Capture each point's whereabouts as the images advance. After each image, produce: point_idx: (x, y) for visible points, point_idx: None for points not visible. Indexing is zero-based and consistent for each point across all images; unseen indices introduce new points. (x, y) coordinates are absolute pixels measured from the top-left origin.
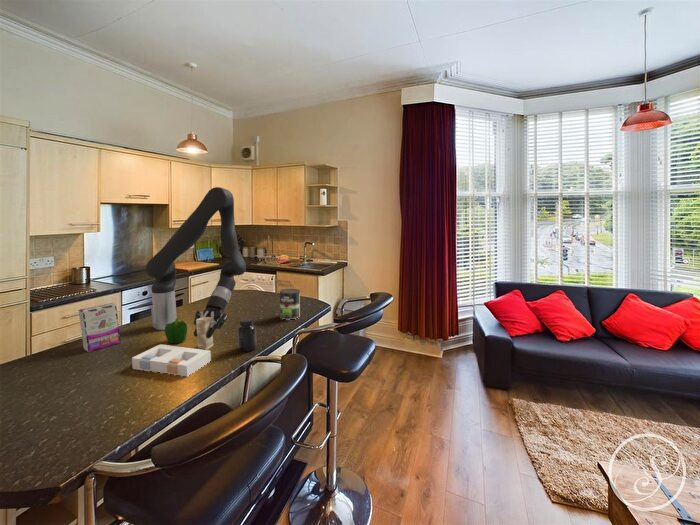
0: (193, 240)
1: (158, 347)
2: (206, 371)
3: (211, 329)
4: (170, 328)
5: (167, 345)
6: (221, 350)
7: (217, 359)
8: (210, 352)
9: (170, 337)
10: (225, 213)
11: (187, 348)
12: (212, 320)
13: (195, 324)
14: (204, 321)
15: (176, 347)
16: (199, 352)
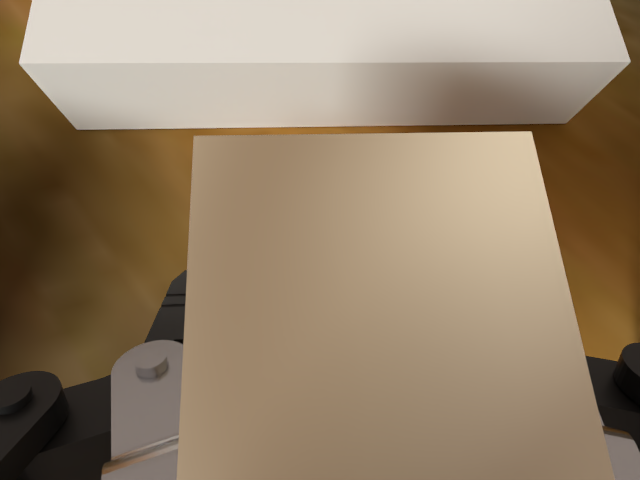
0: None
1: (567, 8)
2: (22, 4)
3: (171, 340)
4: None
5: (537, 58)
6: (103, 341)
7: (38, 168)
8: (31, 75)
9: None
10: None
11: (293, 51)
12: (135, 461)
13: (619, 368)
14: (221, 153)
15: (414, 43)
16: (111, 12)
